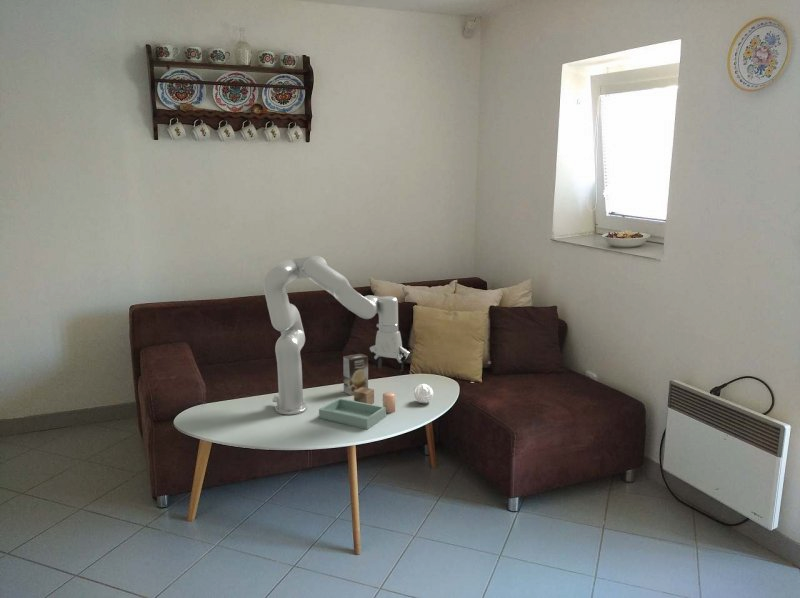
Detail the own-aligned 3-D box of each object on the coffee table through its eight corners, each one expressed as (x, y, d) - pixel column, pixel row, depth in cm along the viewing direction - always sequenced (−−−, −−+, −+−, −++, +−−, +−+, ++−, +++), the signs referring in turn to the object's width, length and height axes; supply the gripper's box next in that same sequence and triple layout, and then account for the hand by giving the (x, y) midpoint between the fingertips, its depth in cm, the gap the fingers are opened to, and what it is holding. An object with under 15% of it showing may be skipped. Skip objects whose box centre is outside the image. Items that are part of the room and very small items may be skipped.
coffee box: (350, 395, 270) (349, 359, 266) (343, 391, 275) (342, 356, 272) (368, 391, 275) (368, 356, 271) (361, 387, 280) (360, 352, 277)
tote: (319, 418, 244) (318, 409, 244) (339, 407, 256) (339, 397, 256) (367, 429, 234) (367, 419, 233) (386, 416, 246) (385, 407, 245)
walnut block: (354, 405, 259) (353, 391, 258) (361, 400, 264) (361, 387, 263) (366, 407, 256) (366, 393, 255) (374, 403, 261) (373, 389, 260)
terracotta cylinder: (380, 411, 251) (380, 395, 250) (386, 407, 256) (386, 391, 254) (391, 414, 249) (391, 397, 248) (397, 410, 253) (397, 393, 252)
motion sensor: (414, 405, 258) (414, 387, 256) (413, 399, 265) (413, 381, 264) (433, 405, 258) (433, 387, 256) (432, 399, 265) (432, 381, 264)
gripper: (364, 327, 246) (365, 369, 250) (403, 332, 238) (404, 375, 241) (374, 323, 253) (375, 364, 256) (412, 328, 245) (413, 370, 248)
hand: (389, 369), depth 249 cm, fingers open, 9 cm apart
